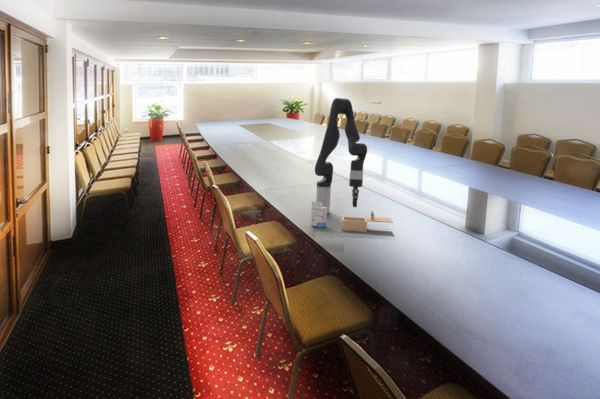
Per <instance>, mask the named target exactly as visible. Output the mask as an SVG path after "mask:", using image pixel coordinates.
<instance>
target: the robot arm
mask: <svg viewBox="0 0 600 399" xmlns="http://www.w3.org/2000/svg"><path fill="white" fill-rule="evenodd" d="M339 115H344V116H345V118H346V122H345V126H344V133H345V136H346V138H347V142H348V143H347V147H348V148H347V149H348V152H349V154H350V155H351V156H357V157H356V159H355V158H354V159H353V160H351V162H350V171H349V172H350V173H349V182H348V184H349V185H348V186H349V187H351V188H352V189H351V198H352V203H351V204H352V207H353V208H357V207H358V198H359V192H360V190H359V188H361V187H363V180H364V179H363V178H364V162H365V160H366V157H367V154H368V147H367V145H366V144H365V143H362V142H361V143H360V142H359V141H360V139H361V137H360V133H359V131H358V128H357V124H356V122H355V115H354V110H353V106H352V101H351V100H350V99H349V98H342V97H341V98H340V97H335V98H333V100H332V102H331V107H330V112H329V116H328V123H327V127H326V128H325V132H324V136H323V140H322V144H321V149H320V152H319V154H318V155H319V156H318V157H317V159H316V161H315V162H316V163H315V166H314V174H315V176H316V177H317V176H318V177H322V178H321V179H320V180H318V181H316V193H315V195H316V197H315V202H319V203H323V207H327V214H329V213H330V211H331V209H330V208H331V192H332V191H331V189H332V183H333V175H334V166H333V164H332V162H331V161H327V159H328V157H329V156H330V155H331V154H332V153H333V151H334V150H335V149H336V148H337V146H338V144H339V140H340V137H341V134H340V129H339V126H338V116H339ZM358 142H359V143H358ZM315 205H319V204H315Z"/></svg>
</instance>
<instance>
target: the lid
mask: <svg viewBox="0 0 600 399" xmlns="http://www.w3.org/2000/svg"><path fill="white" fill-rule="evenodd" d="M365 218H366V219H367V222H371V223H372V222H374V223H390V224H392V223H394V221H393V219H392V218H391V217H381V216H380V217H379V216H375V212H374V211H373V210H370V216H365Z"/></svg>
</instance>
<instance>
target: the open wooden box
mask: <svg viewBox="0 0 600 399" xmlns="http://www.w3.org/2000/svg"><path fill="white" fill-rule="evenodd" d="M341 218H342V223H341V231H342V232H343V231H344V232H345V231H346V232H348V231H349V232H359V233H366V232H367V231H368V229H367V228H368V221H367V219H366V217H359V216H358V217H357V216H355V217H354V216H342V217H341Z"/></svg>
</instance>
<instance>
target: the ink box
mask: <svg viewBox="0 0 600 399" xmlns="http://www.w3.org/2000/svg"><path fill="white" fill-rule="evenodd" d="M316 204H319V205H316ZM310 214H311V215H310V225H311V226H312V227H317V228H325V227H327V217H328V213H327V207H323V203H319V202H316V201H313V200H312V201H311V211H310Z"/></svg>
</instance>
